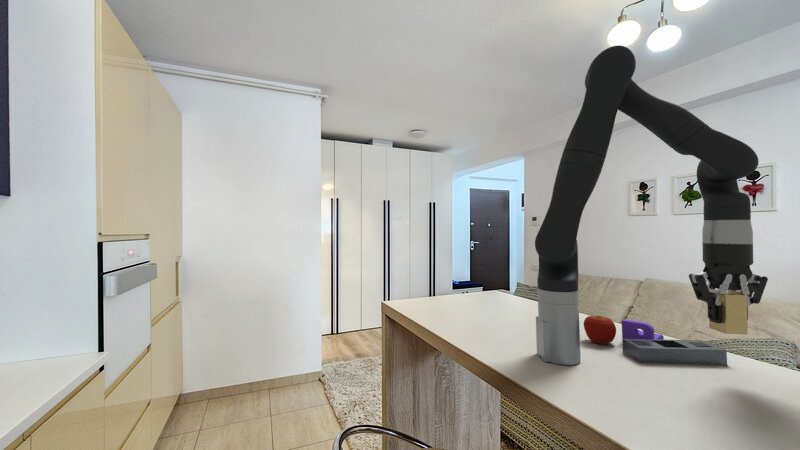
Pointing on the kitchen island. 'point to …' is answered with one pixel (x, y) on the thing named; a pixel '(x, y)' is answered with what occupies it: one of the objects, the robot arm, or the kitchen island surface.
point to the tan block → (732, 315)
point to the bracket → (632, 330)
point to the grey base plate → (674, 351)
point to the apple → (600, 329)
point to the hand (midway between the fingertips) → (727, 322)
